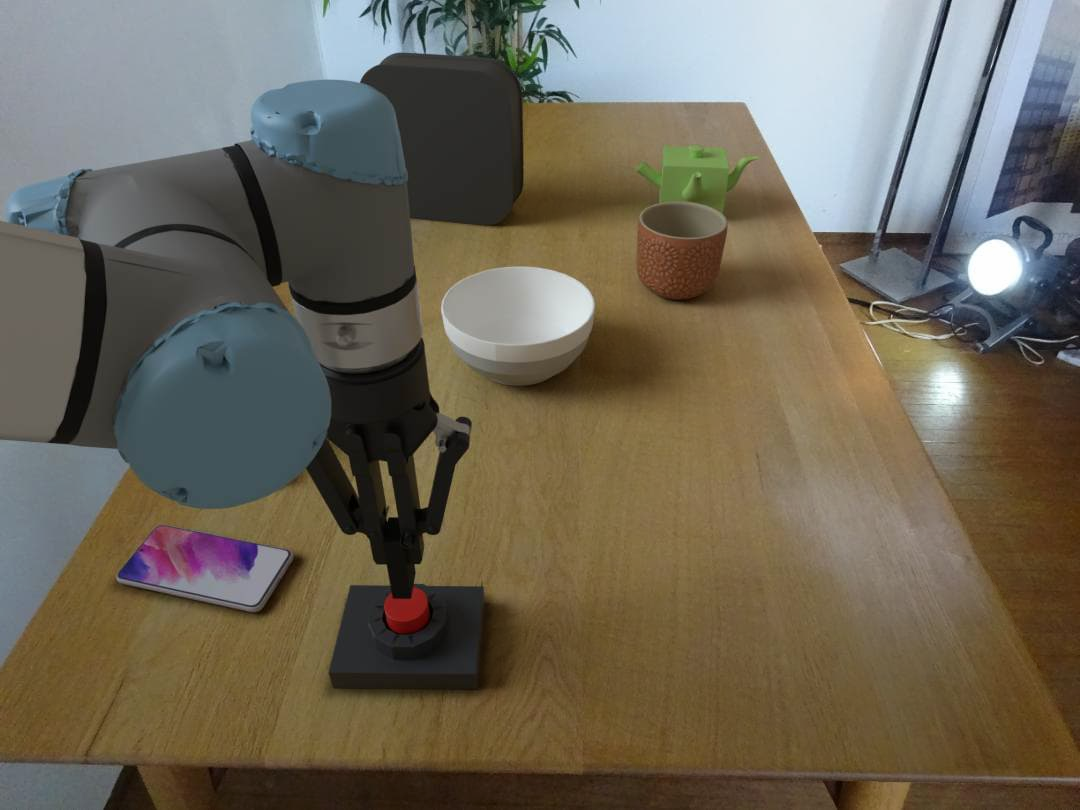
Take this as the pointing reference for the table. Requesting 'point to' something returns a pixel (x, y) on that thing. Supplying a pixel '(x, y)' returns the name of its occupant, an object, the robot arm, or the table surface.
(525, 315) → the bowl
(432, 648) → the switch box
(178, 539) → the smartphone
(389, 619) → the power button
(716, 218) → the planter
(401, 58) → the speaker
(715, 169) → the kettle
